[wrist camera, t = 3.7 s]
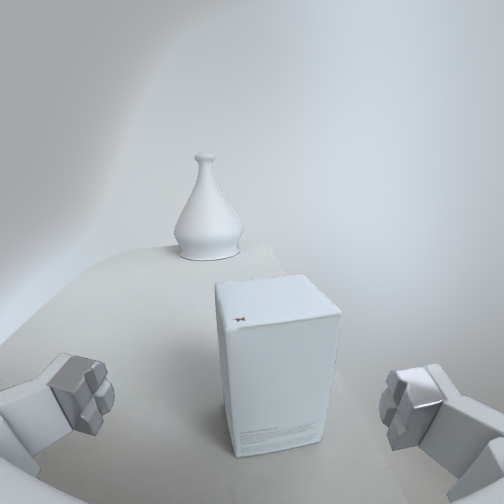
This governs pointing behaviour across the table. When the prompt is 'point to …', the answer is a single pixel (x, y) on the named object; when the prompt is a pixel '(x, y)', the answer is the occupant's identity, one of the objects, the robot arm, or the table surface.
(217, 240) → the vase
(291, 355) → the white packaging box
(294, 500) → the table surface
